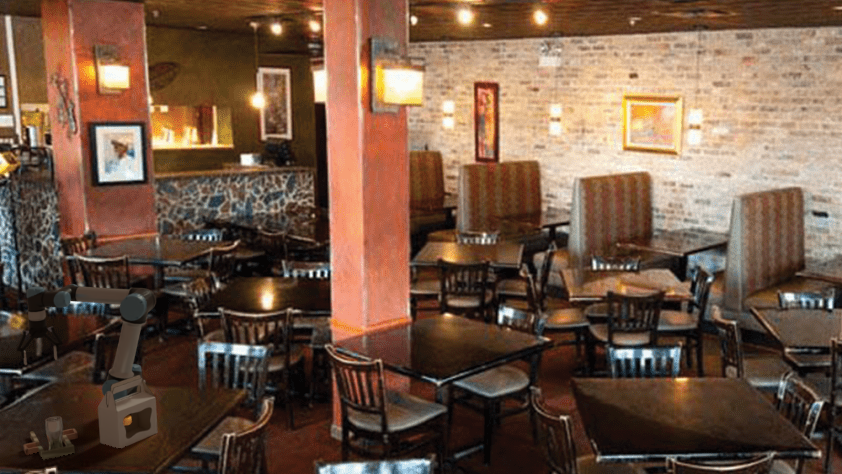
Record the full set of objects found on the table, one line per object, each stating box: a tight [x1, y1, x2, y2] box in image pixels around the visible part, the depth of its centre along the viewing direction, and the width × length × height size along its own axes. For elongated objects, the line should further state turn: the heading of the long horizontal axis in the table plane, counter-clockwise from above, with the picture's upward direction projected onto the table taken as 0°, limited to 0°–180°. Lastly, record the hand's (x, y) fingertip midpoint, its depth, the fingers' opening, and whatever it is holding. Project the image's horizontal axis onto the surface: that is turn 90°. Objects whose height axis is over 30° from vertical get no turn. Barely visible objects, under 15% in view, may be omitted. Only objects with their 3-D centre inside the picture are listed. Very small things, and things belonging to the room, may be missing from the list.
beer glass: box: [45, 416, 64, 450], centre depth 369 cm, size 7×7×15 cm
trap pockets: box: [22, 427, 79, 456], centre depth 378 cm, size 14×23×2 cm, turn 124°
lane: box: [29, 431, 76, 461], centre depth 376 cm, size 31×13×4 cm, turn 34°
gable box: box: [97, 375, 158, 449], centre depth 382 cm, size 22×13×28 cm, turn 149°
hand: (40, 361), depth 404 cm, fingers open, 13 cm apart
